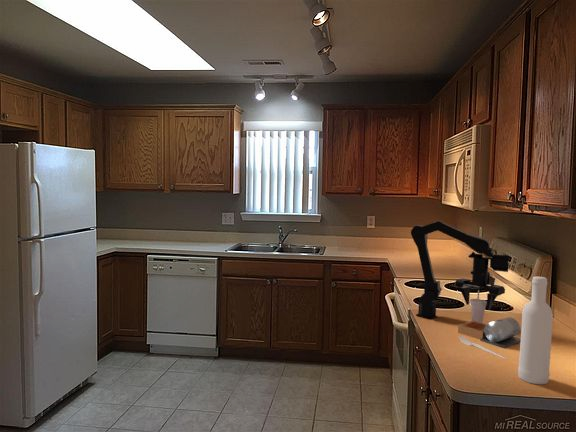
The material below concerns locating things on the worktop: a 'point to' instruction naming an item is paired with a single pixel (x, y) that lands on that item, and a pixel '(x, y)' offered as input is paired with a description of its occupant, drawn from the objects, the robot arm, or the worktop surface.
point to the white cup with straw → (478, 309)
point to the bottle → (536, 336)
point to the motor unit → (493, 331)
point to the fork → (478, 346)
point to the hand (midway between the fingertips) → (478, 307)
